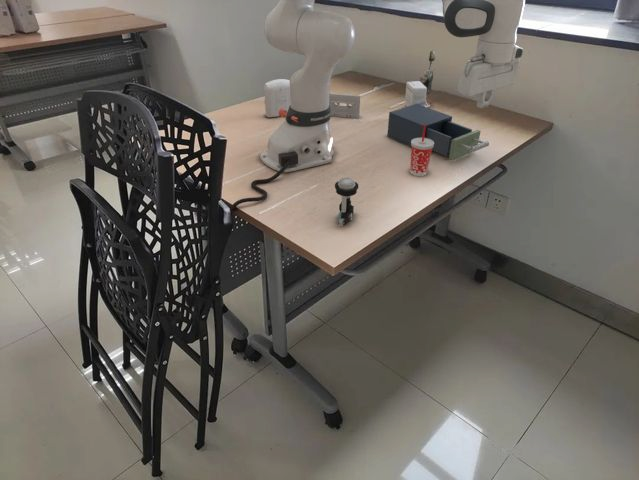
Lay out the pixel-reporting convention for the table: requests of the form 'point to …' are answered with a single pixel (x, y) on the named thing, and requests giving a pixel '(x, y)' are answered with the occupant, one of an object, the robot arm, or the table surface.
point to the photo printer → (276, 96)
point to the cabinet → (413, 122)
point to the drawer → (454, 139)
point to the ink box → (415, 93)
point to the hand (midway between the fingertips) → (482, 106)
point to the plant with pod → (428, 77)
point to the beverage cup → (420, 155)
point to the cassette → (344, 110)
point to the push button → (346, 198)
